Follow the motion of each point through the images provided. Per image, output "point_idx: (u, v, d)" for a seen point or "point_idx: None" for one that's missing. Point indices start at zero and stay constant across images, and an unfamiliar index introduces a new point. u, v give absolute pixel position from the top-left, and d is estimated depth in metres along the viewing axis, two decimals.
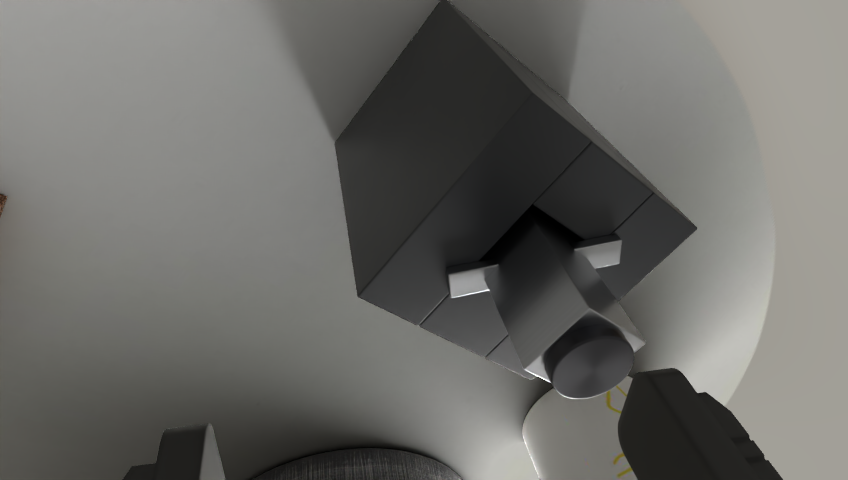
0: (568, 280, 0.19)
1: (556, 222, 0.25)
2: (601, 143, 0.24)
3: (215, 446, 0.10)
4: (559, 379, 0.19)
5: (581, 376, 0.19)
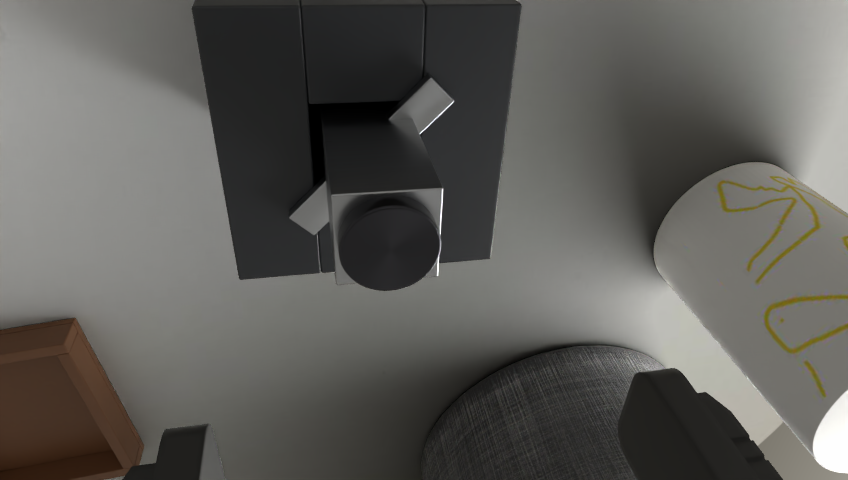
0: (327, 171, 0.17)
1: None
2: None
3: (215, 446, 0.10)
4: (364, 279, 0.16)
5: (385, 263, 0.16)
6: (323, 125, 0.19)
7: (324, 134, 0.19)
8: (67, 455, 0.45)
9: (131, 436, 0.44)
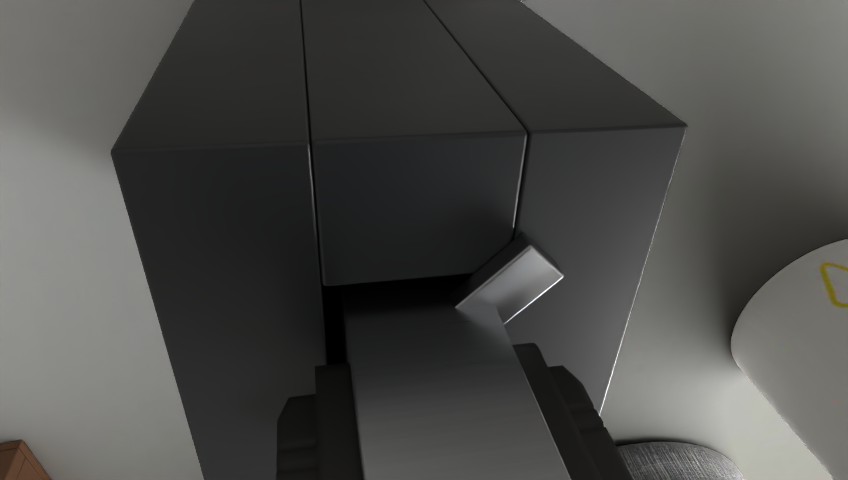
0: (362, 470, 0.09)
1: None
2: (422, 81, 0.12)
3: None
4: None
5: None
6: (348, 327, 0.11)
7: (351, 353, 0.11)
8: None
9: None
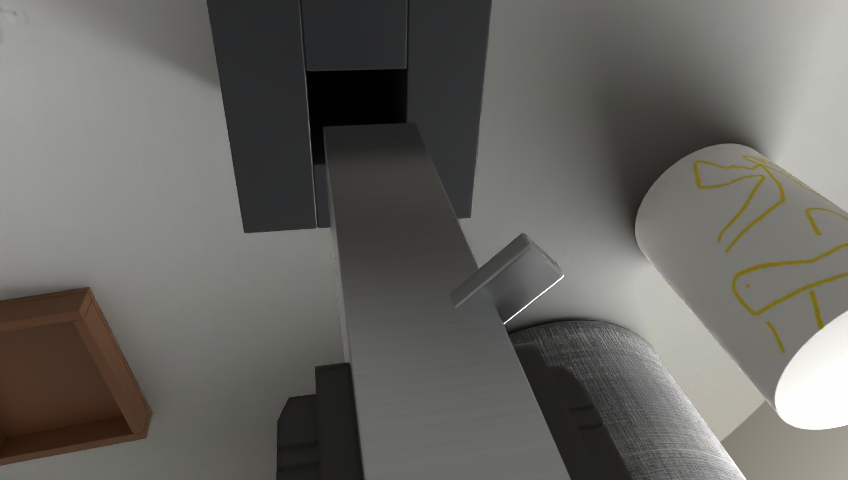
0: (362, 469, 0.09)
1: (437, 249, 0.13)
2: None
3: None
4: None
5: None
6: (348, 326, 0.11)
7: (351, 353, 0.11)
8: (80, 421, 0.48)
9: (140, 403, 0.47)
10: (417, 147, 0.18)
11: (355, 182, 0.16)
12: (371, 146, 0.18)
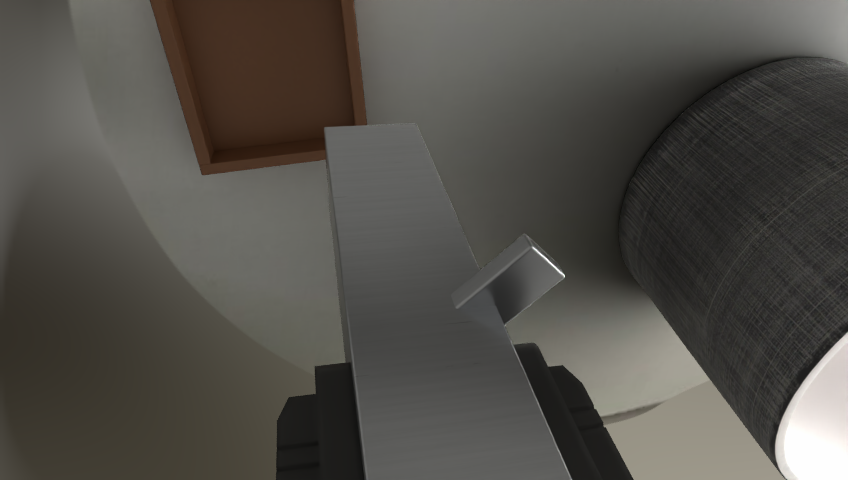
0: (364, 470, 0.09)
1: (438, 249, 0.13)
2: None
3: None
4: None
5: None
6: (349, 327, 0.11)
7: (352, 354, 0.11)
8: (293, 136, 0.42)
9: None
10: (418, 147, 0.18)
11: (356, 182, 0.16)
12: (372, 146, 0.18)
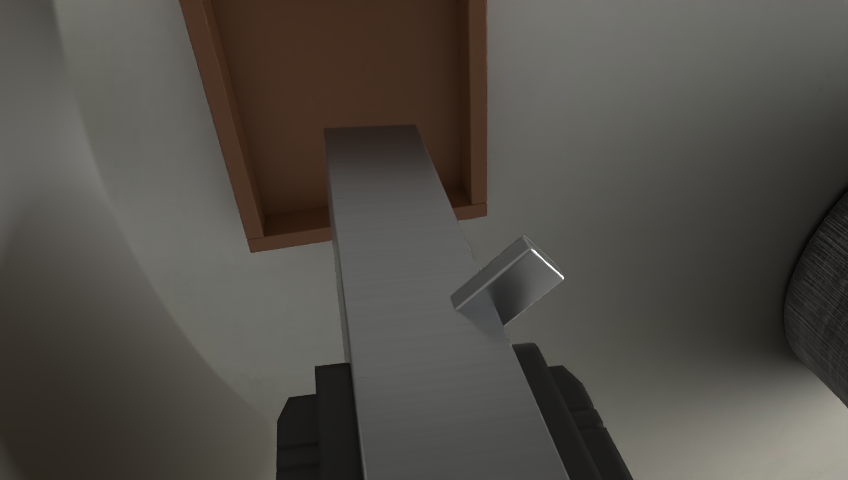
0: (362, 472, 0.09)
1: (437, 251, 0.13)
2: None
3: None
4: None
5: None
6: (348, 329, 0.11)
7: (351, 356, 0.11)
8: None
9: None
10: (417, 149, 0.18)
11: (355, 184, 0.16)
12: (371, 148, 0.18)
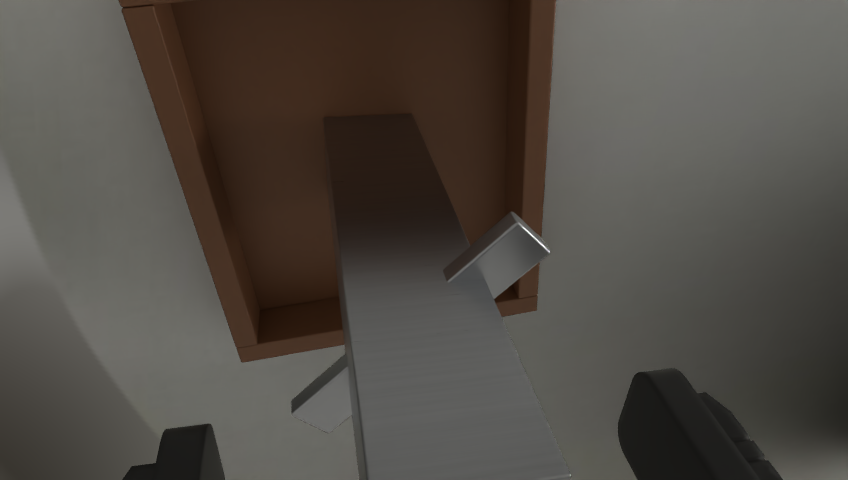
0: (359, 424, 0.10)
1: (431, 229, 0.14)
2: None
3: (215, 446, 0.10)
4: None
5: None
6: (346, 299, 0.12)
7: (349, 322, 0.11)
8: None
9: None
10: (413, 136, 0.19)
11: (353, 168, 0.17)
12: (369, 135, 0.18)
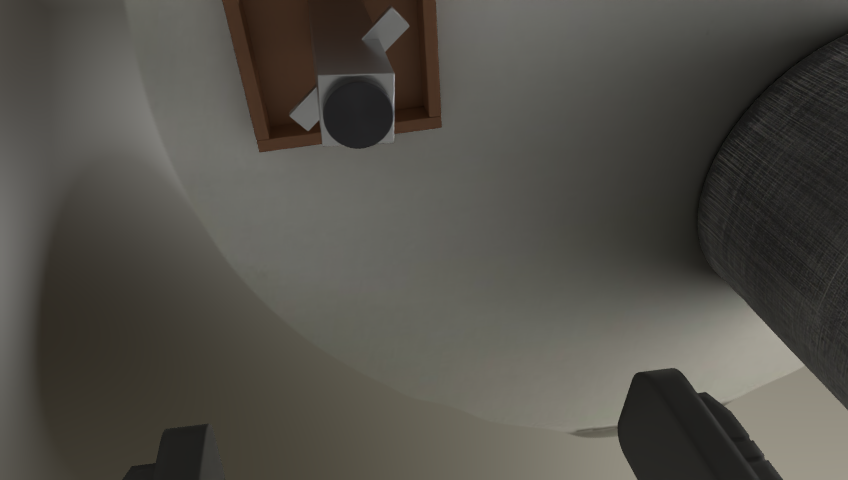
0: (316, 65, 0.24)
1: (358, 27, 0.29)
2: None
3: (215, 446, 0.10)
4: (341, 138, 0.24)
5: (355, 126, 0.24)
6: (314, 42, 0.27)
7: (314, 46, 0.26)
8: None
9: None
10: (358, 1, 0.33)
11: (322, 10, 0.31)
12: (333, 1, 0.33)
